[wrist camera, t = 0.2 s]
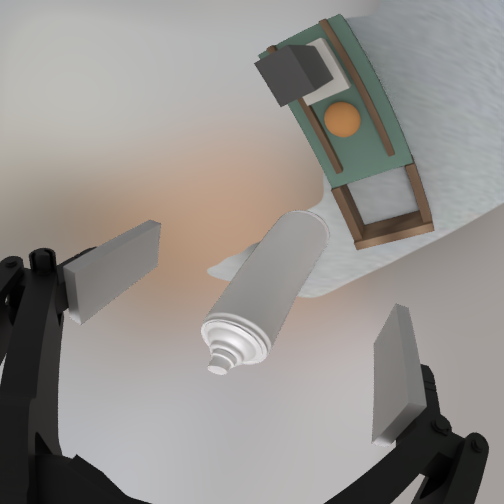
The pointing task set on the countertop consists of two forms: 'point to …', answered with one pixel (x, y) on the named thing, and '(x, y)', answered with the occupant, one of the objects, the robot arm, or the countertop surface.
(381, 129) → the rails
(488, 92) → the countertop surface
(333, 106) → the ball
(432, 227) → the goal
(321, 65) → the block
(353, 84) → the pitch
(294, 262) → the spray can
